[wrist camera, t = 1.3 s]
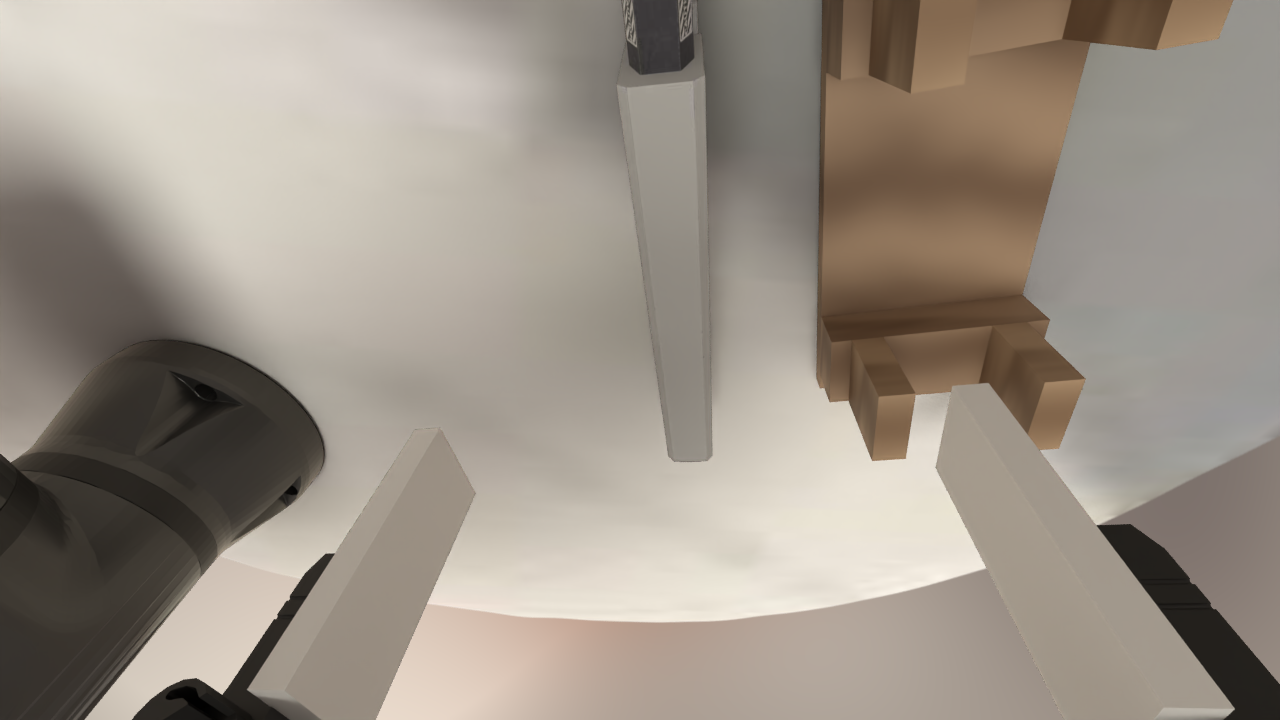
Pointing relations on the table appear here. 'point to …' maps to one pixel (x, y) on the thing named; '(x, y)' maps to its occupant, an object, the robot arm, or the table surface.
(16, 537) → the robot arm
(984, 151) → the display stand
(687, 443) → the gun
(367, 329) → the table surface
